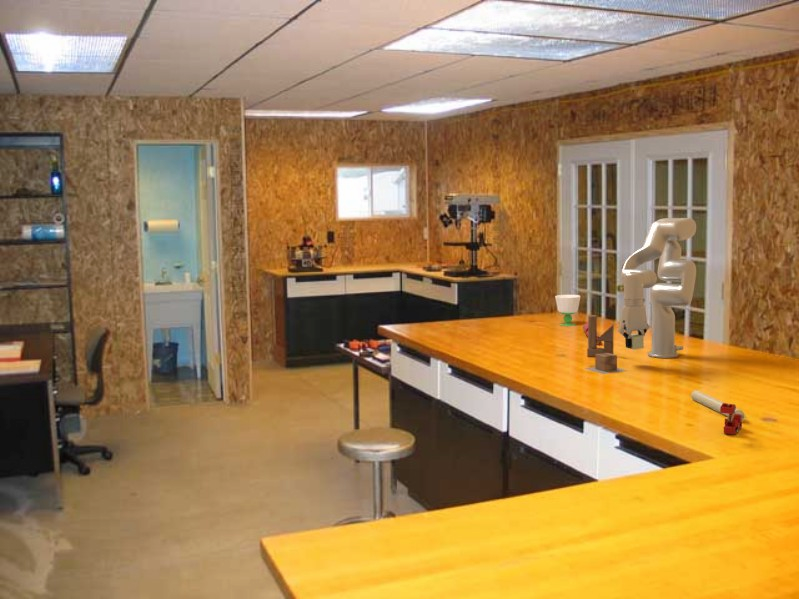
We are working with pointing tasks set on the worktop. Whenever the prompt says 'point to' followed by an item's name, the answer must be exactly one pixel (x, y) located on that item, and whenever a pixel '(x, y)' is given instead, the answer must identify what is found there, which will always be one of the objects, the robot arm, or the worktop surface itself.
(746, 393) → the worktop surface
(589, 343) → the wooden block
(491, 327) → the worktop surface
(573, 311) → the cup
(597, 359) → the walnut block
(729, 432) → the red clamp
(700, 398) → the paper tube
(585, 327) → the artery
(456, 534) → the worktop surface
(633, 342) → the cream cube
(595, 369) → the build pad
